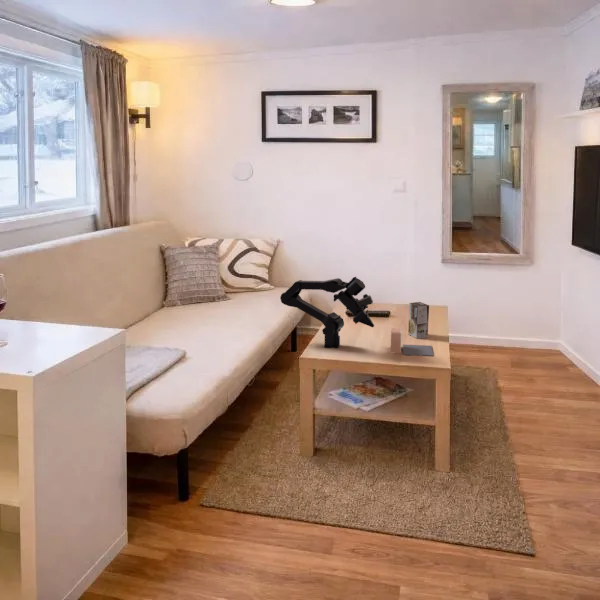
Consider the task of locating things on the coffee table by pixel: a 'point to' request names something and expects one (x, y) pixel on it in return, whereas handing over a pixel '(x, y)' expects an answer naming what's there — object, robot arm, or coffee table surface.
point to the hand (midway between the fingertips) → (373, 326)
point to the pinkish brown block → (396, 340)
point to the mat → (417, 350)
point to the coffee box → (418, 320)
